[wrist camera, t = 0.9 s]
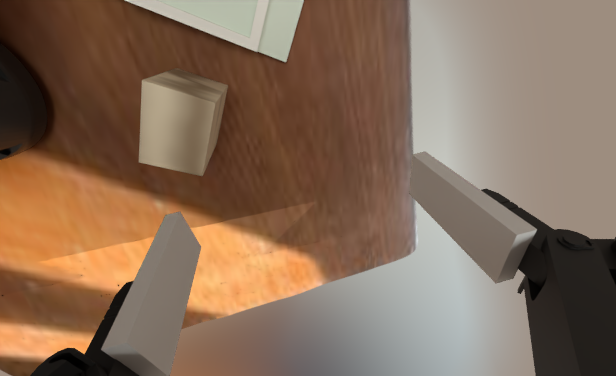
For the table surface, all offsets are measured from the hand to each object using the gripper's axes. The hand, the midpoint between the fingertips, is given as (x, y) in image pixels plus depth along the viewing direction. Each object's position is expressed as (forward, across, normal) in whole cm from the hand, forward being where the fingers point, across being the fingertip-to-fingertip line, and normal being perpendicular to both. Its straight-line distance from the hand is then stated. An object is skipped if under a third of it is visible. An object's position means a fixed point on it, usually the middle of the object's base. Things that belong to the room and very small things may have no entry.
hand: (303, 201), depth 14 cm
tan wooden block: (+23, -10, +1) cm, 25 cm away
